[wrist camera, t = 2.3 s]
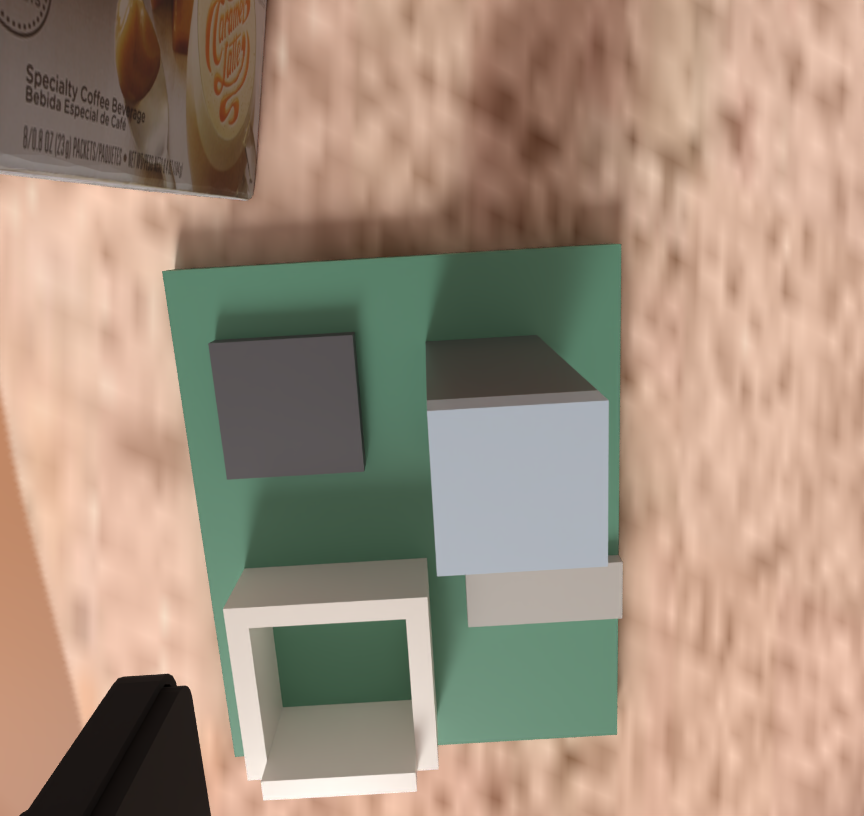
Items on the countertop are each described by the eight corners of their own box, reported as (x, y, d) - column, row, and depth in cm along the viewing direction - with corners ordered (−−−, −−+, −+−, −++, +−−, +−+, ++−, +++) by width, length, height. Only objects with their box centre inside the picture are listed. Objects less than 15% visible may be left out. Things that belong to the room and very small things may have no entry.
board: (174, 269, 25) (153, 272, 24) (612, 243, 25) (627, 244, 24) (242, 736, 30) (229, 771, 28) (609, 715, 30) (622, 748, 28)
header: (244, 568, 27) (214, 624, 23) (426, 557, 27) (427, 612, 23) (265, 725, 29) (241, 801, 25) (437, 715, 29) (439, 790, 25)
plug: (425, 341, 25) (426, 411, 15) (536, 334, 25) (608, 400, 15) (432, 447, 26) (436, 576, 16) (539, 441, 26) (607, 566, 16)
